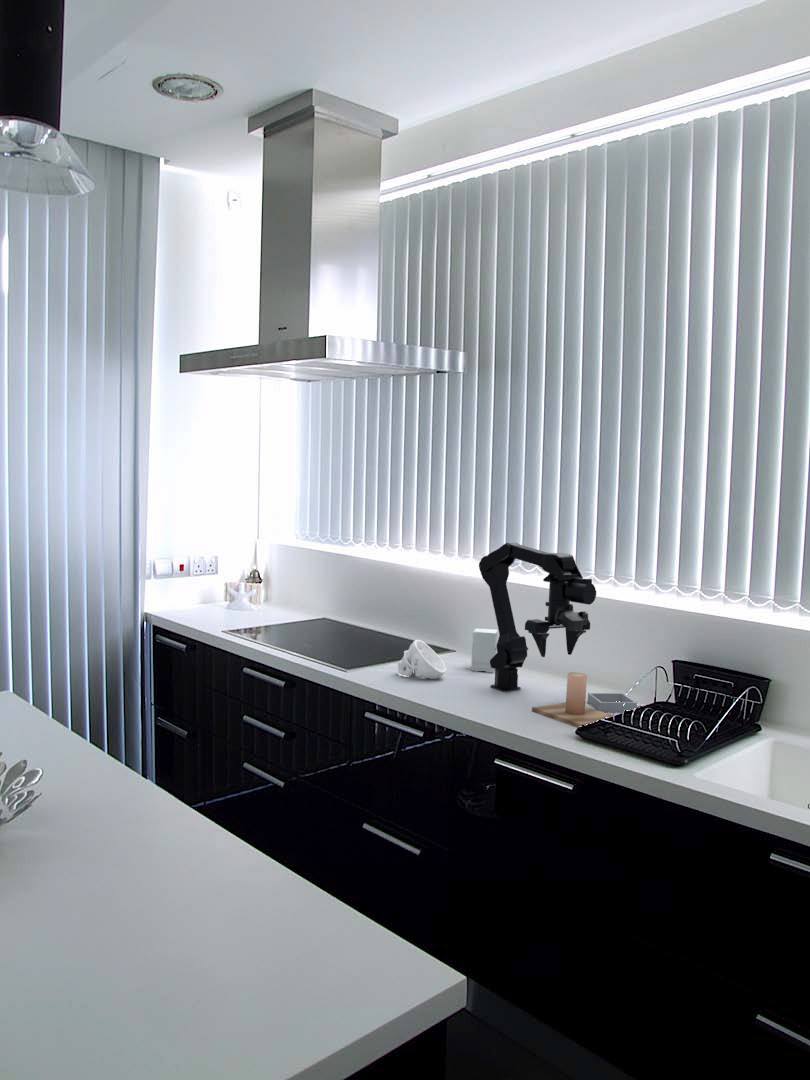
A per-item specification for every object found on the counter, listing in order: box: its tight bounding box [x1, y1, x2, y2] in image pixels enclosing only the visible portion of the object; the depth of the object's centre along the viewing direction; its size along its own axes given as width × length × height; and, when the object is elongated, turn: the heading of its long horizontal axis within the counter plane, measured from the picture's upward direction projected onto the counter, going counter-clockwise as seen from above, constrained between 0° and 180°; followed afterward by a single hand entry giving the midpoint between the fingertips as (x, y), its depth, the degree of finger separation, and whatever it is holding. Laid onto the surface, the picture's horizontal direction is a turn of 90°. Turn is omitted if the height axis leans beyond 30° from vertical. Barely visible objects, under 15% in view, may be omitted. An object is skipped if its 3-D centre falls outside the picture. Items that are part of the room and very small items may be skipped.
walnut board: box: [531, 701, 615, 728], centre depth 242 cm, size 18×14×1 cm
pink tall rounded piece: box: [565, 671, 588, 715], centre depth 241 cm, size 5×5×10 cm
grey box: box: [586, 692, 638, 713], centre depth 252 cm, size 10×10×2 cm
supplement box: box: [470, 628, 499, 673], centre depth 292 cm, size 7×7×13 cm
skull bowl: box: [397, 639, 447, 680], centre depth 279 cm, size 10×14×12 cm
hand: (556, 655), depth 254 cm, fingers open, 9 cm apart
